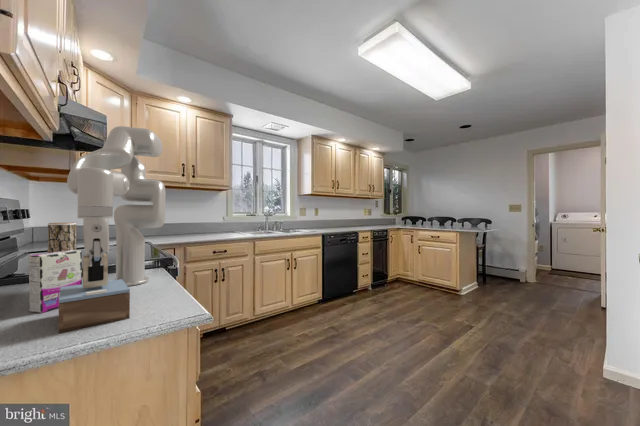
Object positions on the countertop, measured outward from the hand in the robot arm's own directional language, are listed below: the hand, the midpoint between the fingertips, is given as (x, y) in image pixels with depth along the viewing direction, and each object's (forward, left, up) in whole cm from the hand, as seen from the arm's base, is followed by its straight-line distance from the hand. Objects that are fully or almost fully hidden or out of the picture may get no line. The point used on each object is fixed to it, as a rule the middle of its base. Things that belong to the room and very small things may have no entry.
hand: (95, 277), depth 75 cm
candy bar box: (-17, -8, -11) cm, 22 cm away
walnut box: (0, 0, -11) cm, 11 cm away
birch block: (0, 0, -2) cm, 2 cm away
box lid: (0, 0, -4) cm, 4 cm away
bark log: (-25, -7, -11) cm, 28 cm away
